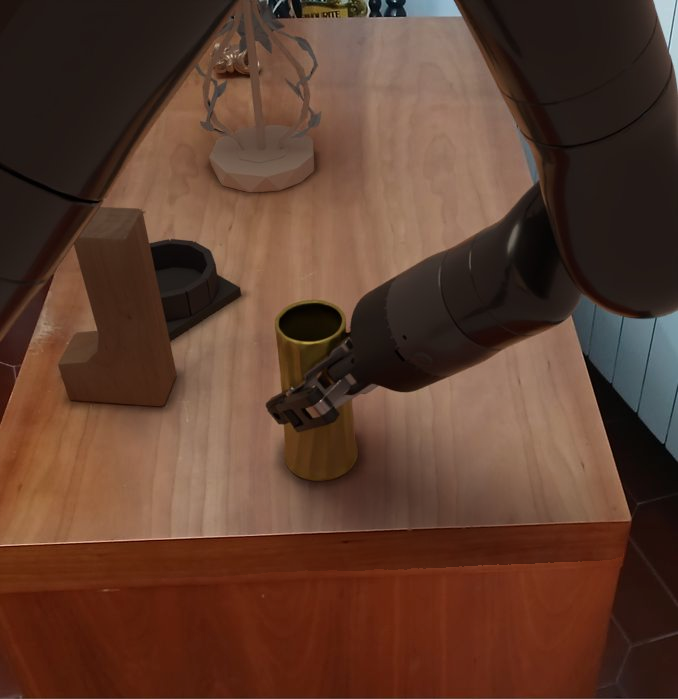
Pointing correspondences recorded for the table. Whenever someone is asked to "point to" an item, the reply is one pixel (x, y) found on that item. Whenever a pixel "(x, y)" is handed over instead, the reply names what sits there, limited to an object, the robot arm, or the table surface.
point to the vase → (295, 360)
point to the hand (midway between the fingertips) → (297, 389)
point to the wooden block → (119, 317)
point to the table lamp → (260, 113)
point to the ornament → (232, 60)
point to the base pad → (188, 283)
